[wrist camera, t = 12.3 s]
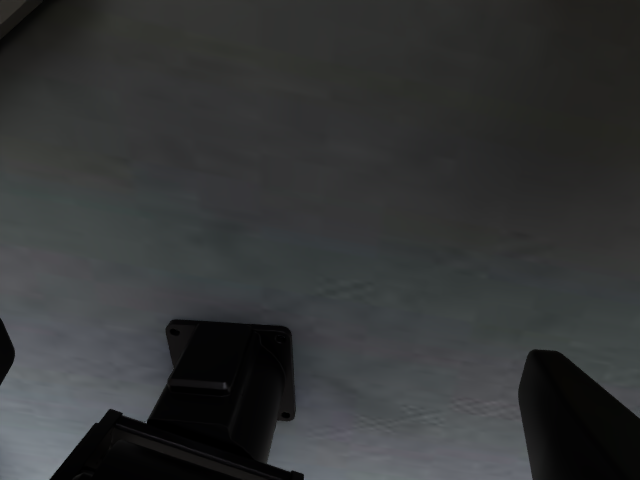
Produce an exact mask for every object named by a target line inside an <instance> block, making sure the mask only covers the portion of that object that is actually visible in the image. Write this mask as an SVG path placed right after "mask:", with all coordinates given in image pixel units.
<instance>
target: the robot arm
mask: <svg viewBox="0 0 640 480" xmlns="http://www.w3.org/2000/svg"><path fill="white" fill-rule="evenodd" d="M174 328H175V329H178V330H179V331H177V330H175V329H174ZM166 335H167V340H168V345H169V349H170V354H171V358H172V363H173V367H174V369H173V371H172V373H171V375H170V376H169V378H168V381H167V384H166V386H165V388H164V390H163V392H162V394H161V396H160V397H159V399H158V401H157V403H156V405H155V407H154V409H153V411H152V413H151V415H150V416H149V418H148V420H147V423H144V422H141V421H138V420H135V419H132V418H129V417H126V416H123V413H121V412H118V411H115V410H112V409H109V411H108V412H107V413H106V414H105V416H104V417H103V418H102V419H101V421H100V422H99V423H95V424H94V425H93V426H92V428H91V429H90V430H89V431H88V433H87V434H86V435H85V436H84V438H83V439H82V440H81V441H80V442H79V444H78V445H77V446H76V447H75V449H74V450H73V451H72V452H71V454H70V455H69V456H68V457H67V459H66V460H65V461H64V462H63V464H62V465H61V466H60V467H59V469H58V470H57V471H56V472H55V473H54V475H53V476H52V477H51V478H50V480H304V474H302V473H299V472H296V471H293V470H292V471H291V472H289V471H286V470H283V469H280V468H277V467H274V466H271V465H268V464H267V460H268V456H269V452H270V448H271V443H272V439H273V435H274V430H275V426H276V422H277V421H291V420H293V419H294V417H295V412H296V405H295V386H294V367H293V348H292V334H291V331H290V330H289V329H288V328H286V327H283V326H270V325H255V324H239V323H223V322H208V321H192V320H172V321H170V322H169V324H168V326H167V327H166ZM278 335H282V336H284V337H285V338H281V337H279V336H278ZM14 358H15V350H14V347H13V344H12V342H11V340H10V337H9V335H8V333H7V331H6V328H5V326H4V324H3V321H2V320H1V318H0V385H1V383H2V382H3V380H4V378H5V376H6V374H7V373H8V371H9V369H10V367H11V366H12V364H13V361H14ZM518 398H519V406H520V411H521V417H522V422H523V428H524V433H525V439H526V444H527V450H528V456H529V461H530V467H531V472H532V478H533V480H640V418H638V417H637V416H636V415H635V414H634V413H632V412H631V411H630V410H629V409H628V408H626V407H625V406H624V405H623V404H622V403H620V402H619V401H618V400H617V399H616V398H614V397H613V396H612V395H611V394H610V393H608V392H607V391H606V390H605V389H604V388H602V387H601V386H600V385H599V384H598V383H596V382H595V381H594V380H593V379H592V378H590V377H589V376H588V375H587V374H586V373H584V372H583V371H582V370H581V369H580V368H578V367H577V366H576V365H575V364H574V363H572V362H571V361H570V360H569V359H568V358H566V357H565V356H564V355H563V354H561V353H560V352H558V351H551V350H536V349H535V350H532V351H530V352H529V354H528V356H527V359H526V363H525V366H524V370H523V374H522V377H521V381H520V385H519V391H518ZM287 412H288V413H287Z"/></svg>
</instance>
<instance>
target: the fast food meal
mask: <svg viewBox="0 0 640 480" xmlns="http://www.w3.org/2000/svg"><path fill="white" fill-rule="evenodd" d="M42 1H44V0H0V39H1V38H2V37H4V36H5V35H6V34H7V33H8V32H9V31H10V30H11V29H12V28H14V27H15V26H16V25H17V24H18V23H19V22H20V21H21V20H22V19H24V18H25V17H26V16H27V15H28V14H29V13H30V12H31V11H32V10H34V9H35V8H36V7H37V6H38V5H39V4H40V3H41V2H42Z"/></svg>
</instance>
